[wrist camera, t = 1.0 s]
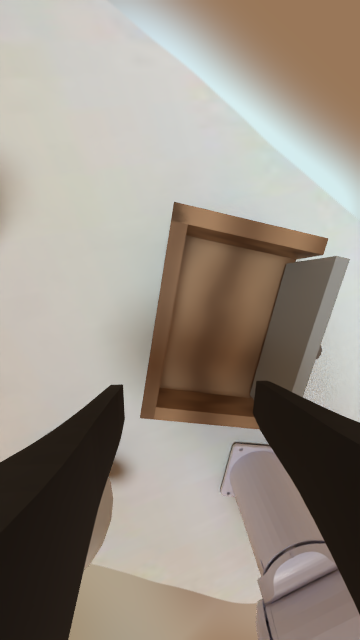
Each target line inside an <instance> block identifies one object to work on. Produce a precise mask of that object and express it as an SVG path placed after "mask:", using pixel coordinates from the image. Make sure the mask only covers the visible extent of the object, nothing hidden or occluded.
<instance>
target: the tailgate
mask: <svg viewBox="0 0 360 640" xmlns="http://www.w3.org/2000/svg"><path fill="white" fill-rule="evenodd" d="M349 260H350V259H347V258H343V257H338V256H334V257H327V258H321V259H314V260H307V261H301V262H294V263H287V264H286V267H285V271H284V274H283V278H282V282H281V285H280V289H279V292H278V296H277V299H276V303H275V306H274V310H273V314H272V317H271V321H270V324H269V328H268V331H267V335H266V338H265V342H264V346H263V349H262V353H261V356H260V360H259V363H258V367H257V370H256V374H255V378H254V381H253V385H252V388H251V392H250V396H251V397H252V398H253V400H254V397H255V388H256V381H270V382H272V383H274V384H277V385H279V386H281V387H283V388H285V389H287V390H289V391H291V392H293V393H295V394H297V395H299V396H301V397H303V394H304V391H305V388H306V386H307V383H308V380H309V377H310V374H311V371H312V368H313V365H314V362H315V359H317V358H319V356H320V355H321V352H322V348H321V342H322V339H323V336H324V333H325V330H326V327H327V324H328V321H329V319H330V316H331V313H332V310H333V307H334V304H335V301H336V298H337V295H338V292H339V289H340V286H341V284H342V281H343V278H344V275H345V272H346V269H347V266H348V263H349Z"/></svg>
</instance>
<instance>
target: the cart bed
mask: <svg viewBox="0 0 360 640" xmlns="http://www.w3.org/2000/svg"><path fill="white" fill-rule="evenodd" d="M327 241H328V238H324V237H319V236H315V235H311V234H307V233H303V232H298V231H294V230H290V229H286V228H282V227H277V226H273V225H269V224H265V223H261V222H256V221H252V220H248V219H244V218H240V217H235V216H231V215H227V214H223V213H218V212H214V211H210V210H207V209H202V208H197V207H193V206H189V205H185V204H181V203H176V202H174V206H173V212H172V219H171V225H170V231H169V238H168V244H167V250H166V257H165V263H164V269H163V276H162V282H161V288H160V295H159V301H158V307H157V314H156V320H155V326H154V333H153V339H152V345H151V352H150V358H149V364H148V371H147V377H146V383H145V389H144V396H143V402H142V408H141V415H140V418H145V419H156V420H167V421H177V422H188V423H199V424H209V425H220V426H230V427H241V428H252V429H260V428H259V426H258V424H257V422H256V420H255V418H254V415H253V406H254V400H253V398H252V397H251V396H250V392H251V388H252V385H253V381H254V378H255V374H256V370H257V367H258V363H259V360H260V356H261V353H262V349H263V346H264V342H265V338H266V335H267V331H268V328H269V324H270V321H271V317H272V314H273V310H274V306H275V303H276V299H277V296H278V292H279V289H280V285H281V282H282V278H283V274H284V271H285V267H286V264H287V263H294V262H295V261H296V259H302V258H307V257H313V256H319V255H323V254H324V251H325V247H326V244H327Z"/></svg>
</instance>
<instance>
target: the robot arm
mask: <svg viewBox="0 0 360 640" xmlns="http://www.w3.org/2000/svg"><path fill="white" fill-rule="evenodd" d="M253 415H254V418H255V420H256V422H257V424H258V426H259V428H260V430H261V432H262V434H263V435H264V437H265V439H266V440H267V442H268V443H269V445H270V446H260V445H248V444H234V445H233V447H232V450H231V454H230V458H229V461H228V465H227V468H226V472H225V476H224V479H223V483H222V486H221V490H220V492H221V495H223V496H235V498H236V501H237V504H238V507H239V510H240V513H241V516H242V519H243V522H244V525H245V528H246V531H247V534H248V538H249V541H250V544H251V547H252V550H253V553H254V556H255V559H256V562H257V565H258V568H259V571H260V574H261V577H260V578H259V579H258V580H257V581H258V584H259V588H260V591H261V594H262V597H263V599H261V600H259V601H258V602H257V615H256V629H257V635H258V640H360V423H359V422H357V421H354V420H351V419H349V418H346V417H344V416H342V415H339V414H337V413H335V412H333V411H330V410H328V409H326V408H324V407H322V406H319V405H317V404H315V403H313V402H311V401H309V400H307V399H305V398H303V397H301V396H299V395H297V394H295V393H293V392H291V391H289V390H287V389H285V388H283V387H281V386H279V385H277V384H274V383H272V382H270V381H256V388H255V397H254V406H253ZM124 420H125V417H124V397H123V385H110V386H109V387H108V388H106V389H105V390H104V391H103V392H102V393H101V394H99V395H98V396H97V397H96V398H95V399H93V400H92V401H91V402H90V403H89V404H87V405H86V406H85V407H84V408H83V409H81V410H80V411H79V412H77V413H76V414H75V415H73V416H72V417H71V418H69V419H68V420H67V421H65V422H64V423H63V424H61V425H60V426H59V427H57V428H56V429H54V430H53V431H51V432H50V433H48V434H47V435H45V436H44V437H42V438H41V439H39V440H38V441H36V442H35V443H33V444H31V445H30V446H28V447H26V448H25V449H23V450H21V451H19V452H18V453H16V454H14V455H12V456H11V457H9V458H7V459H6V460H4V461H2V462H0V640H68V638H69V633H70V629H71V624H72V619H73V615H74V611H75V606H76V602H77V597H78V593H79V588H80V584H81V579H82V574H83V571H84V567H85V562H86V558H87V554H88V549H89V545H90V541H91V537H92V533H93V529H94V525H95V521H96V516H97V512H98V508H99V505H100V501H101V498H102V495H103V491H104V488H105V485H106V482H107V479H108V476H109V473H110V470H111V467H112V464H113V461H114V458H115V455H116V452H117V449H118V446H119V442H120V439H121V434H122V430H123V425H124Z"/></svg>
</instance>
